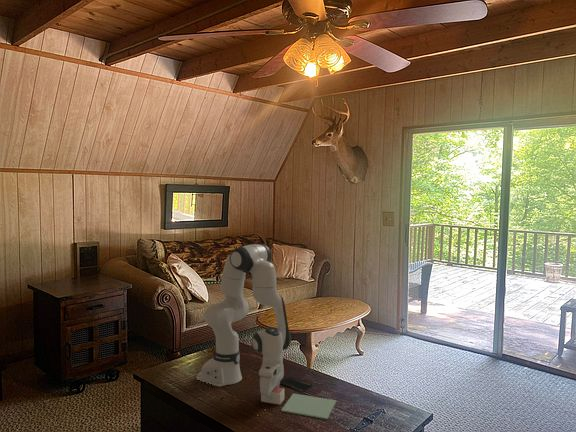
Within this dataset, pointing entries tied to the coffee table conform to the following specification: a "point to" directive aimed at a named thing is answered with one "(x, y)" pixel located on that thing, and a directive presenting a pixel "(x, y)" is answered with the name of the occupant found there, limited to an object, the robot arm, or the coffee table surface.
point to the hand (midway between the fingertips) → (272, 395)
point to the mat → (309, 406)
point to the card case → (275, 396)
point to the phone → (296, 384)
